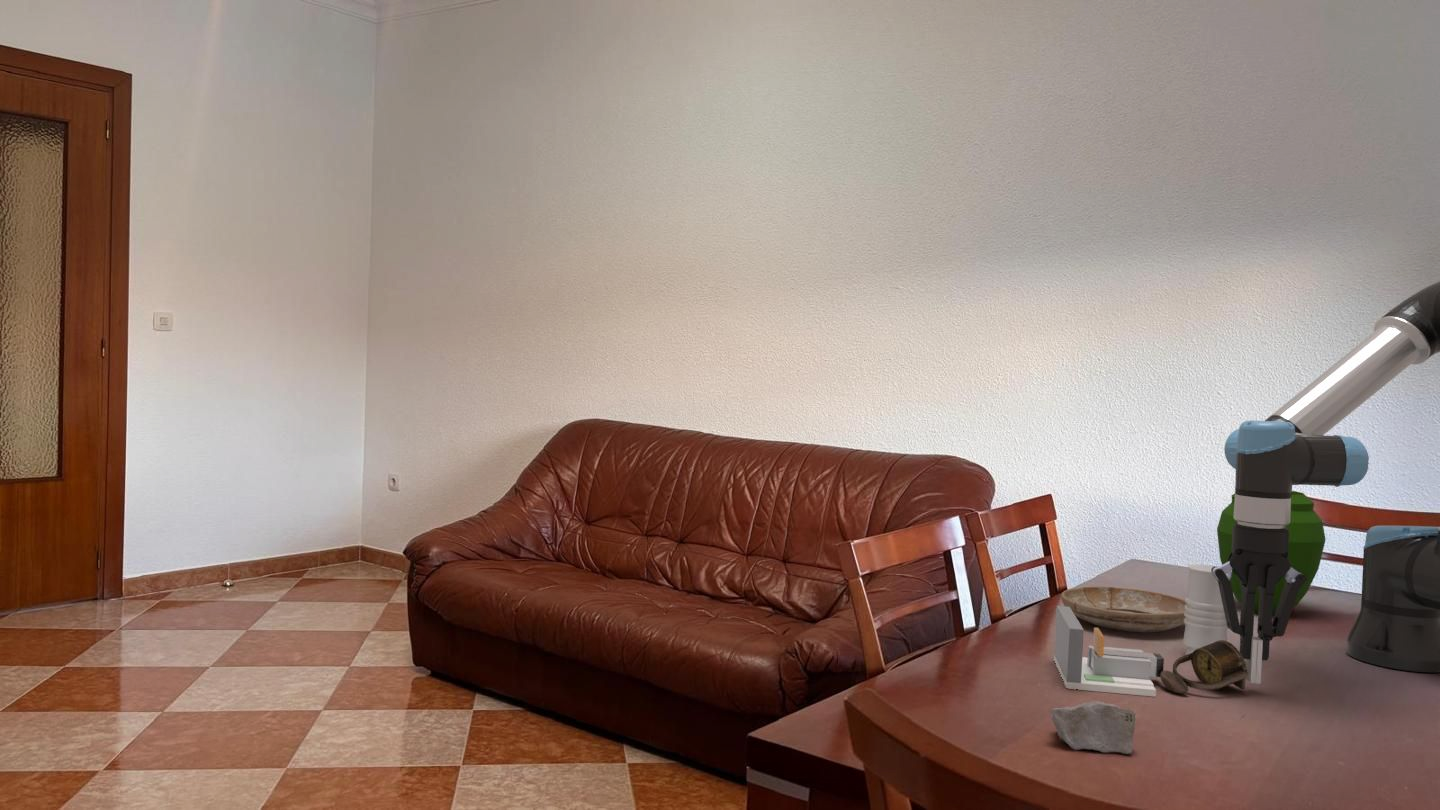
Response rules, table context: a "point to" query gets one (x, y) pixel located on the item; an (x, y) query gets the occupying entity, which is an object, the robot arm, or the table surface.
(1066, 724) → the stone
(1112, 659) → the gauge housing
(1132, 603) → the ceramic bowl
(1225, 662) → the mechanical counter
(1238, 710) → the table surface
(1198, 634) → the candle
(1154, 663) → the grey metal bar
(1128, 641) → the table surface
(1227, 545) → the vase
